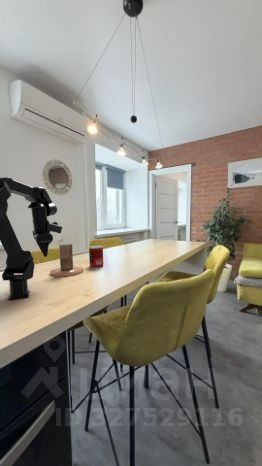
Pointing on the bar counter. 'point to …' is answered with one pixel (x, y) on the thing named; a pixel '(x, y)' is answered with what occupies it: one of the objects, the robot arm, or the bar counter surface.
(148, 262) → the bar counter surface
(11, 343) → the bar counter surface
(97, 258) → the canned food
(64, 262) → the walnut block
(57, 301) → the bar counter surface
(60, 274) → the terracotta dish
